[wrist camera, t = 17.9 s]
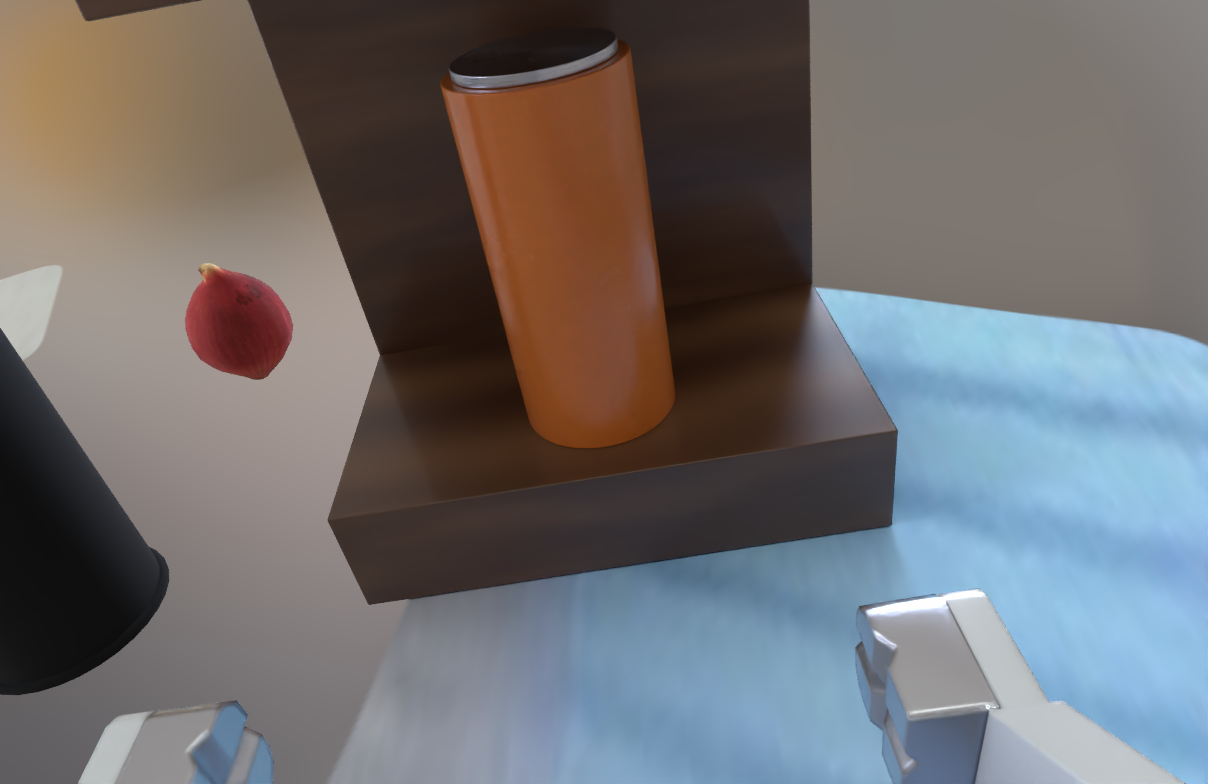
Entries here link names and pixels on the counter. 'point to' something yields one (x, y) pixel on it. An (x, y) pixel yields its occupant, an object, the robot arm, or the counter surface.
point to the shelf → (475, 328)
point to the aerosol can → (61, 548)
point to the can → (567, 228)
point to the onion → (237, 323)
